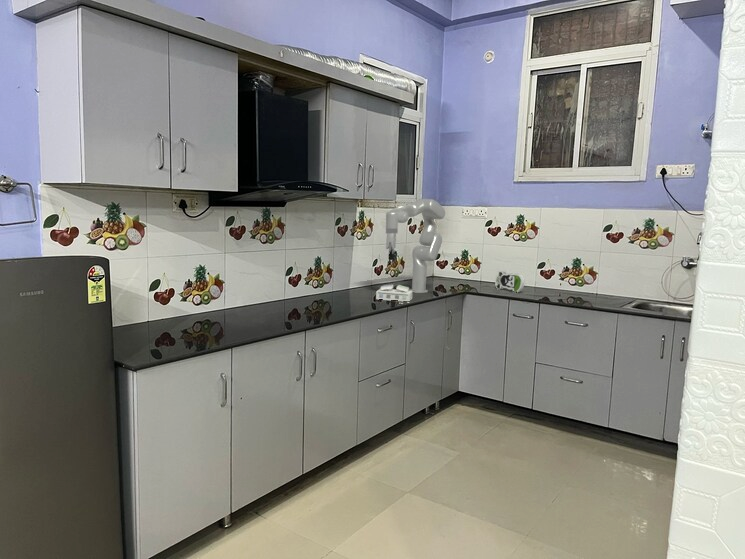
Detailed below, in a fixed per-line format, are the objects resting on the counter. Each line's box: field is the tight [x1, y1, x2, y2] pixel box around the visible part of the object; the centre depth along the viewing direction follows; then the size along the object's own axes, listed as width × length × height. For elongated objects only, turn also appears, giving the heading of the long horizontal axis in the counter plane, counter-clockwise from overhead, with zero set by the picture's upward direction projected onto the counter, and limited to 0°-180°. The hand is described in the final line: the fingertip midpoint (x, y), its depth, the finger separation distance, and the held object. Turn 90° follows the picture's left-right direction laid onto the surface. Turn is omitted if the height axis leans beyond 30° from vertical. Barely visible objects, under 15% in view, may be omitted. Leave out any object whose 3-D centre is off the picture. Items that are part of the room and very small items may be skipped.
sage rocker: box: [395, 284, 410, 292], centre depth 349 cm, size 6×7×2 cm
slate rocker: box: [380, 283, 394, 290], centre depth 351 cm, size 6×7×2 cm
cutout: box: [494, 270, 525, 293], centre depth 404 cm, size 15×3×25 cm
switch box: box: [375, 287, 414, 302], centre depth 350 cm, size 13×21×6 cm, turn 78°
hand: (391, 259), depth 355 cm, fingers closed
